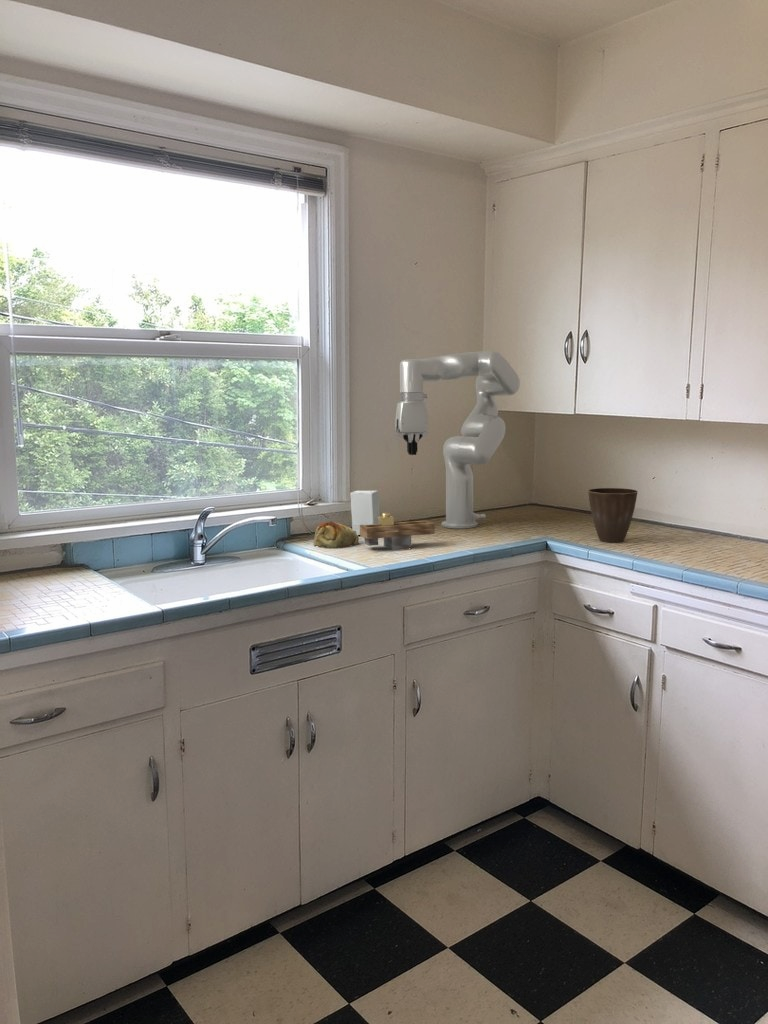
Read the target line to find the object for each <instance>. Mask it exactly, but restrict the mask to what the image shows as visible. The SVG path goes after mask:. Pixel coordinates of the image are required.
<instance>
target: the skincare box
mask: <svg viewBox="0 0 768 1024" xmlns="http://www.w3.org/2000/svg"><path fill="white" fill-rule="evenodd" d="M349 497H350V511H351V527H352V528H351V529H353V531H356V534H357V535H360V525H372V524H378V516H380V513H381V512H380V498H379V497H380V495H379V490H374V489H373V490H354V491H352V492H350V496H349Z"/></svg>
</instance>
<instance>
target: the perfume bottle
mask: <svg viewBox="0 0 768 1024" xmlns="http://www.w3.org/2000/svg"><path fill="white" fill-rule="evenodd" d="M394 520H395V519H394V516H392V515H391V514H390V512H382V513H381V516H378V527H380V526H393V525H394V523H395V521H394Z"/></svg>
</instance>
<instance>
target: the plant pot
mask: <svg viewBox="0 0 768 1024" xmlns="http://www.w3.org/2000/svg"><path fill="white" fill-rule="evenodd" d="M587 491H588V501H589V507H590V512H591V517H592V521H593V525H594V528H595V531H596V534H597V537H598V539H599V541H600V542H604V543H609V544H610V543H612V544H614V543H617V544H618V543H623V542H624V541H625V539H626V537H627V534H628V531H629V529H630V525H631V522H632V519H633V516H634V511H635V507H636V504H637V502H636V501H637V497H638V492H639V491H638V490H636V489H631V488H617V487H606V488H605V487H600V488H591V489H590V488H589V489H588V490H587Z"/></svg>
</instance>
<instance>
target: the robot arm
mask: <svg viewBox="0 0 768 1024" xmlns="http://www.w3.org/2000/svg"><path fill="white" fill-rule="evenodd" d="M472 377H474V378H475V377H476V380H475V392H476V403H475V407H474V408H473V409H472V410H471V412H470V414H469V415H468V416H467V418H466V419H465V420H464V422H463V424H462V426H461V429H460V432H461V435H454V436H451V437H449V438H447V439H446V440H445V441H444V444H443V446H442V448H443V449H442V452H443V454H442V455H443V458H444V459H443V460H444V465H445V520H444V521H442V522H441V526H442V527H443V528H448V529H472V528H476V527H477V526H478V522H477V521H479V520H480V521H481V520H486V517H487V516H486V514H485V513H475V512H474V473H473V470H472V467H471V466H470V465H472V466H473V465H474V466H481V465H484V464H486V463H487V462H489V461H490V460H491V458H492V456H493V455H494V454H495V452H496V450H497V449H498V448H499V446H500V445H501V443H502V441H503V440H504V437H505V435H506V423H505V421H504V419H503V418H501V417H500V416H498V414H499V407H498V405H497V402H496V398H495V396H496V397H497V396H499V397H500V396H501V397H503V396H508V397H509V396H513V395H515V394H517V392H519V389H520V386H521V381H520V377H519V374H518V373H517V372H516V370H515V369H514V368H513V366H511V364H510V363H509V361H508V360H507V359H506V358H505V357H504V356H503V355H502V354H501V353H500V352H498V351H496V350H483V351H472V352H471V351H469V352H460V353H452V354H445V355H439V356H432V357H424V358H415V359H413V358H410V359H402V360H401V361H400V362H399V399H400V400H399V402H397V405H396V410H395V411H396V412H395V420H394V425H395V426H394V430H395V432H396V434H395V435H396V437H397V438H402V439H404V442H406V450H407V451H406V452H407V454H408V455H409V456H416V455H417V453H418V444H419V442H420V440H421V439H422V438H425V437H427V436H428V435H429V433H428V430H429V418H428V410H427V405H426V402H424V400H425V399H427V398H428V394H427V393H425V392H424V383H436V382H439V381H440V380H446V381H449V380H451V381H452V380H458V379H466V378H472Z"/></svg>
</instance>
